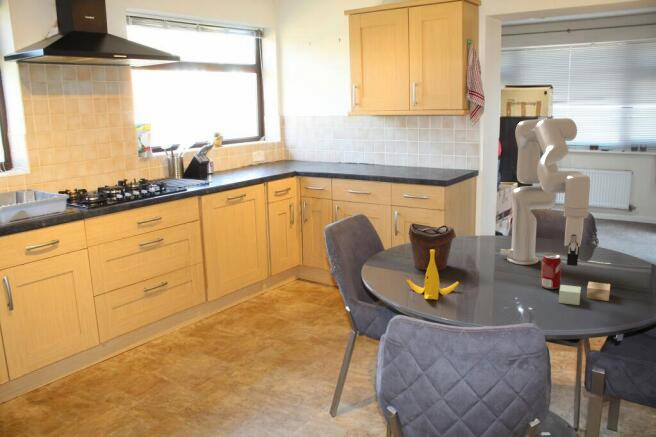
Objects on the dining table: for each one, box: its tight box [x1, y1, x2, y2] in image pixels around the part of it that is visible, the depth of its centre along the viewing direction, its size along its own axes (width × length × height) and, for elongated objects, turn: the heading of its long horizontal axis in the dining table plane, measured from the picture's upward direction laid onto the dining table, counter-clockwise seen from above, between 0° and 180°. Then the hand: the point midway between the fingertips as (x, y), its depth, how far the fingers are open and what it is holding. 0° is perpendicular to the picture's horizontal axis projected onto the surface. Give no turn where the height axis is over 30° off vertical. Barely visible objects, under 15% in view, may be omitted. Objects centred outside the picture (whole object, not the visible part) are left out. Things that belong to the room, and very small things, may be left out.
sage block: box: [558, 284, 582, 306], centre depth 202 cm, size 6×6×4 cm
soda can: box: [540, 253, 563, 290], centre depth 215 cm, size 7×7×12 cm
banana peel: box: [406, 250, 460, 300], centre depth 211 cm, size 17×19×17 cm
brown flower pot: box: [408, 222, 457, 271], centre depth 242 cm, size 18×20×18 cm
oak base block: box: [586, 281, 611, 302], centre depth 206 cm, size 7×7×4 cm
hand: (572, 261), depth 199 cm, fingers open, 9 cm apart
